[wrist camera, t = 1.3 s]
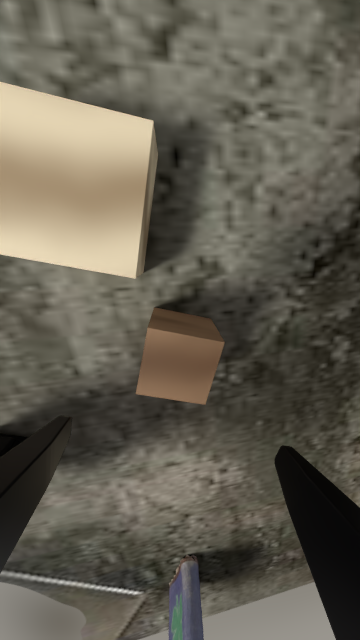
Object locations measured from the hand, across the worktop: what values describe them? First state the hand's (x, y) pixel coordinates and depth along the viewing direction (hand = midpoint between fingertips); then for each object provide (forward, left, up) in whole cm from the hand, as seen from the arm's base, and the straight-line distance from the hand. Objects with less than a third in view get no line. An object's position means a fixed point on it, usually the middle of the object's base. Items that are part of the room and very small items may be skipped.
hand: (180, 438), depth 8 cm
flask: (-37, -9, -10) cm, 39 cm away
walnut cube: (0, 0, -10) cm, 10 cm away
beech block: (+9, +8, -11) cm, 16 cm away
